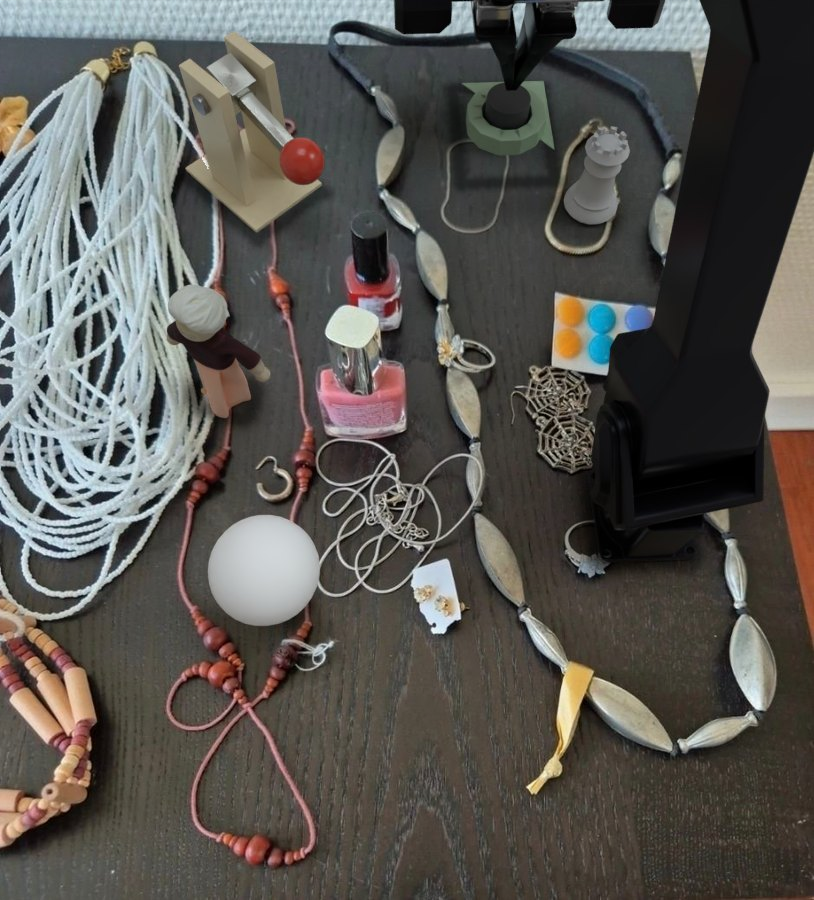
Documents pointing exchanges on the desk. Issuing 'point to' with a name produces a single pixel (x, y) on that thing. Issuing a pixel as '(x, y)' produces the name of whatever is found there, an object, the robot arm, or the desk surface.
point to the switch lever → (269, 122)
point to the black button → (507, 107)
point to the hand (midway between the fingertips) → (510, 86)
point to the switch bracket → (241, 141)
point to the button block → (508, 139)
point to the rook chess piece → (598, 178)
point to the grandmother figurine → (213, 347)
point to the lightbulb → (263, 570)
